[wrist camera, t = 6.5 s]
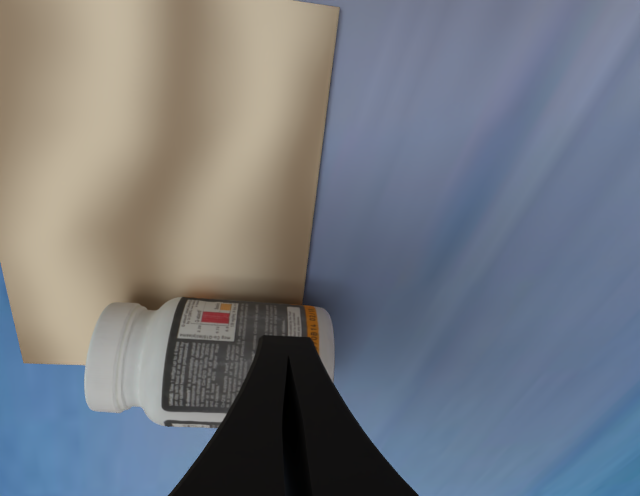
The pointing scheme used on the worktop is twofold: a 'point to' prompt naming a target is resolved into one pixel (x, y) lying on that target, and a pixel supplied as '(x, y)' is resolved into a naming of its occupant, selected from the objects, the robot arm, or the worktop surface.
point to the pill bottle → (189, 355)
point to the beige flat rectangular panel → (155, 156)
